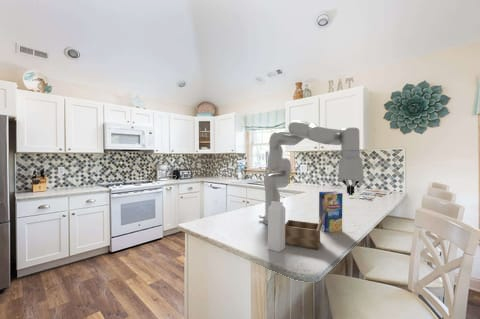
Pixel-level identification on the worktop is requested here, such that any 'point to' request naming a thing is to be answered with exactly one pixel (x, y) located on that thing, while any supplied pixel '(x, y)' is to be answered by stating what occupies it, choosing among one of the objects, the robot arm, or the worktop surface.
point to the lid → (325, 210)
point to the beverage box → (331, 211)
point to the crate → (302, 234)
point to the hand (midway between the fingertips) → (350, 194)
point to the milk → (276, 226)
